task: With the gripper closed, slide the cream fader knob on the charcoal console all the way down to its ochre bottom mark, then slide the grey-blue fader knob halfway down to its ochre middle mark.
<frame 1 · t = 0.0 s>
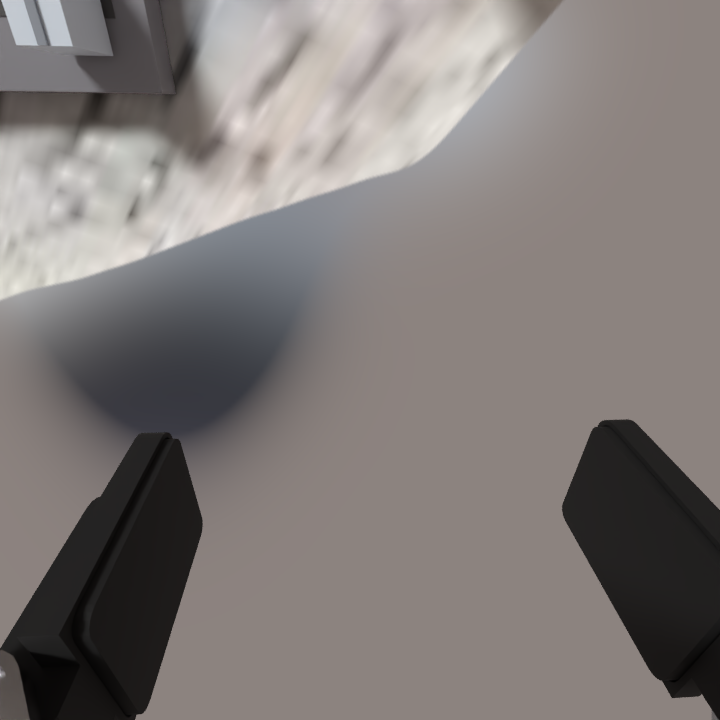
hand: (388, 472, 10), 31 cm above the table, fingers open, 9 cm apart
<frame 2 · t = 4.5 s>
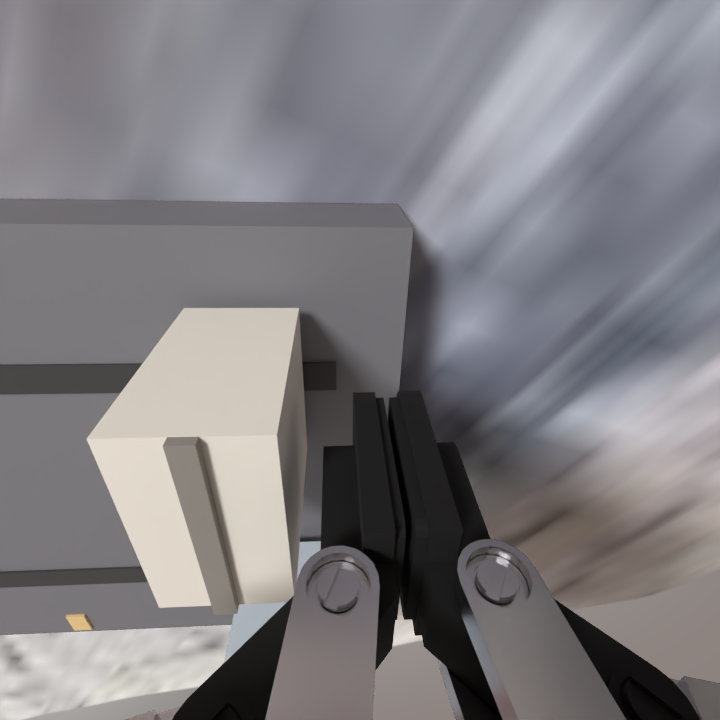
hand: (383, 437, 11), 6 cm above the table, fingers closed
cream fader: (234, 447, 10), point 6 cm above the table, slide at 0.5 cm, touching gripper
grey fader: (284, 647, 15), point 6 cm above the table, slide at 0.0 cm
fader console: (49, 438, 17), on the table
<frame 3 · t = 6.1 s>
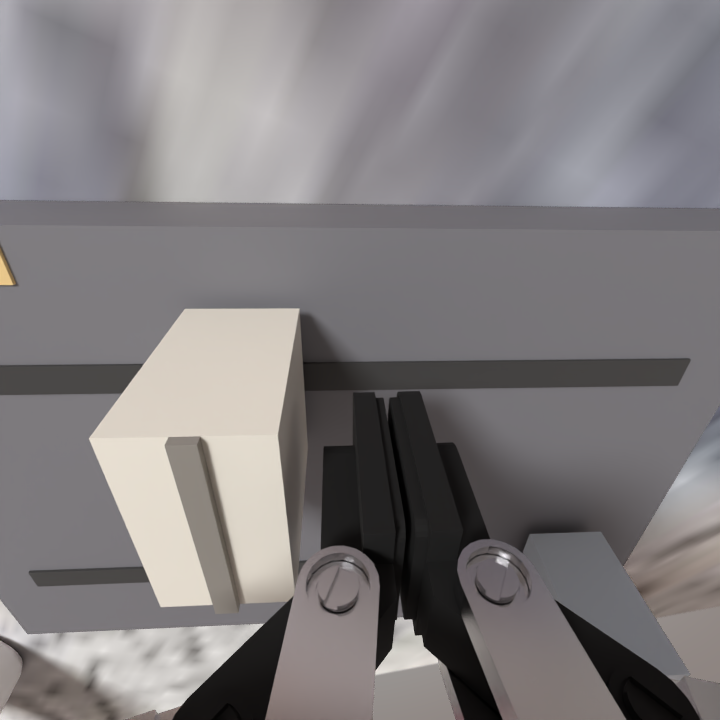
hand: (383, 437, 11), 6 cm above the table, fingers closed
cream fader: (235, 447, 10), point 6 cm above the table, slide at 11.7 cm, touching gripper
grey fader: (579, 633, 16), point 6 cm above the table, slide at 0.0 cm
fader console: (320, 433, 18), on the table
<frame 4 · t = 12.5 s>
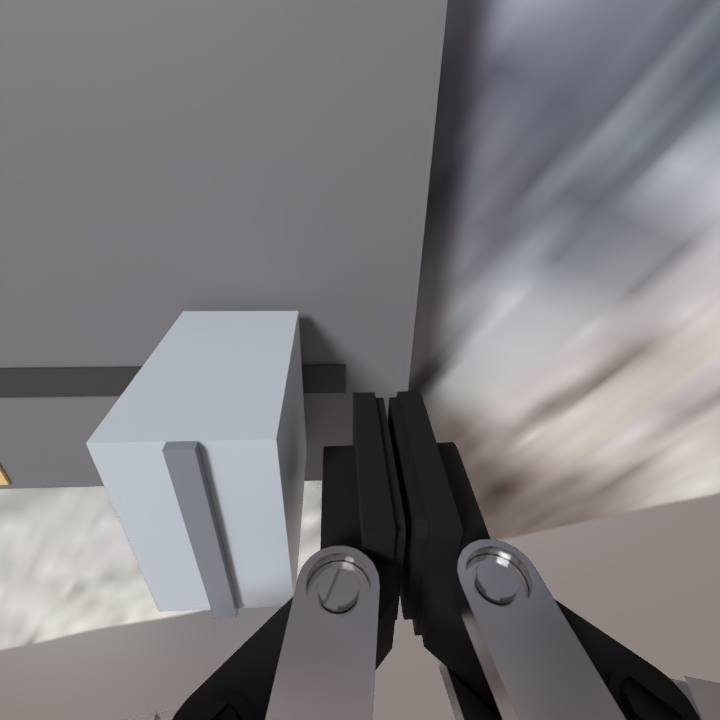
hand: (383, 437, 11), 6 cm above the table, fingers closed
grey fader: (233, 450, 10), point 6 cm above the table, slide at 0.8 cm, touching gripper
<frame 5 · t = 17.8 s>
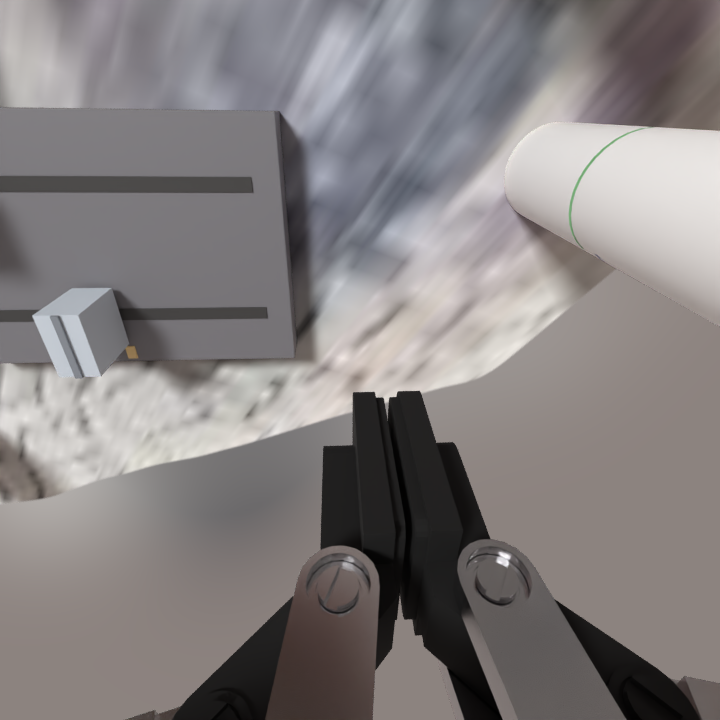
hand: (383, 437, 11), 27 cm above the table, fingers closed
cylindrical container: (547, 172, 33), on the table
grey fader: (85, 331, 31), point 6 cm above the table, slide at 11.2 cm
fader console: (118, 243, 34), on the table
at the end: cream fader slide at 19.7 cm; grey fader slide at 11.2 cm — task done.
